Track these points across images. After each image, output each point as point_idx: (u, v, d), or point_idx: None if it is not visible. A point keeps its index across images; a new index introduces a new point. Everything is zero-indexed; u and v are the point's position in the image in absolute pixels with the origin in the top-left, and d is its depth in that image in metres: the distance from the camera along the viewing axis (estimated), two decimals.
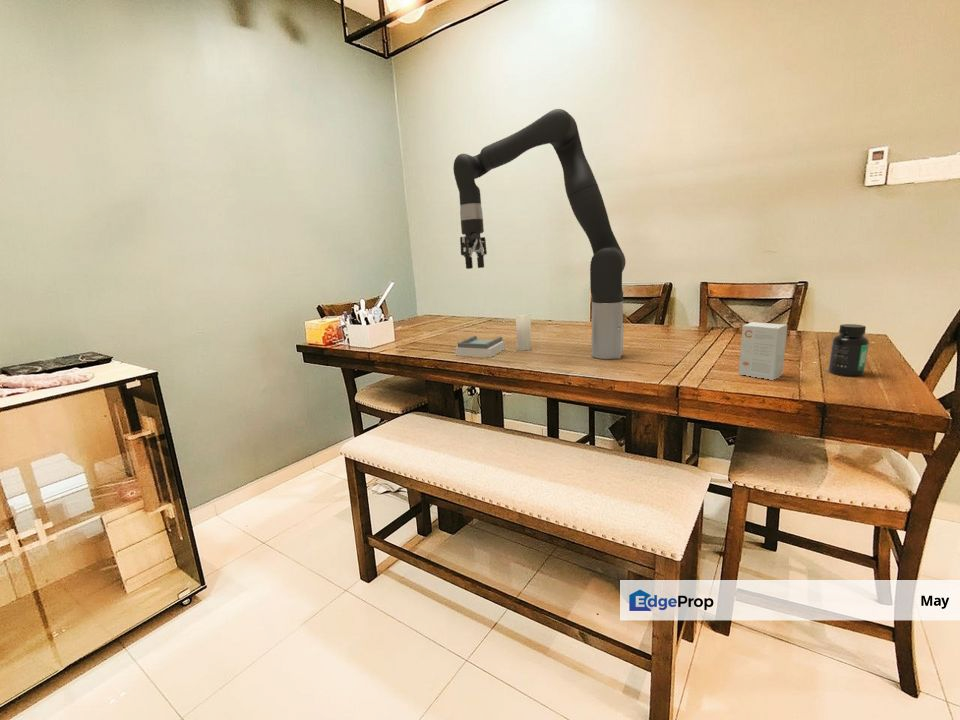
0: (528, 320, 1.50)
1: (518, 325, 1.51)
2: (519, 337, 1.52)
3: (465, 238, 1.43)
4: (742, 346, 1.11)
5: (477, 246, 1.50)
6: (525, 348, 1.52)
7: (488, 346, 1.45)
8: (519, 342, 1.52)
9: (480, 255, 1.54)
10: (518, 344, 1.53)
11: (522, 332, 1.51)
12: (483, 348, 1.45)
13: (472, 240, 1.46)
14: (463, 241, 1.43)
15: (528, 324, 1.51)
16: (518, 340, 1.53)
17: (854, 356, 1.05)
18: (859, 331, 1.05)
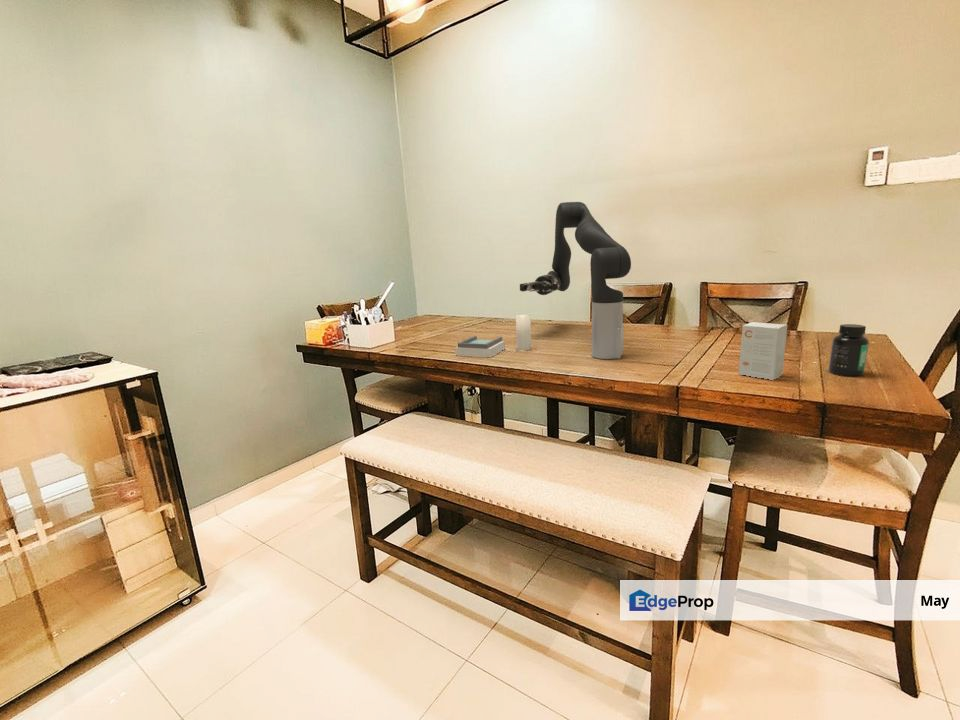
0: (528, 320, 1.50)
1: (518, 325, 1.51)
2: (519, 337, 1.52)
3: None
4: (742, 346, 1.11)
5: (540, 283, 1.66)
6: (525, 348, 1.52)
7: (488, 346, 1.45)
8: (519, 342, 1.52)
9: None
10: (518, 344, 1.53)
11: (522, 332, 1.51)
12: (483, 348, 1.45)
13: None
14: None
15: (528, 324, 1.51)
16: (518, 340, 1.53)
17: (854, 356, 1.05)
18: (859, 331, 1.05)
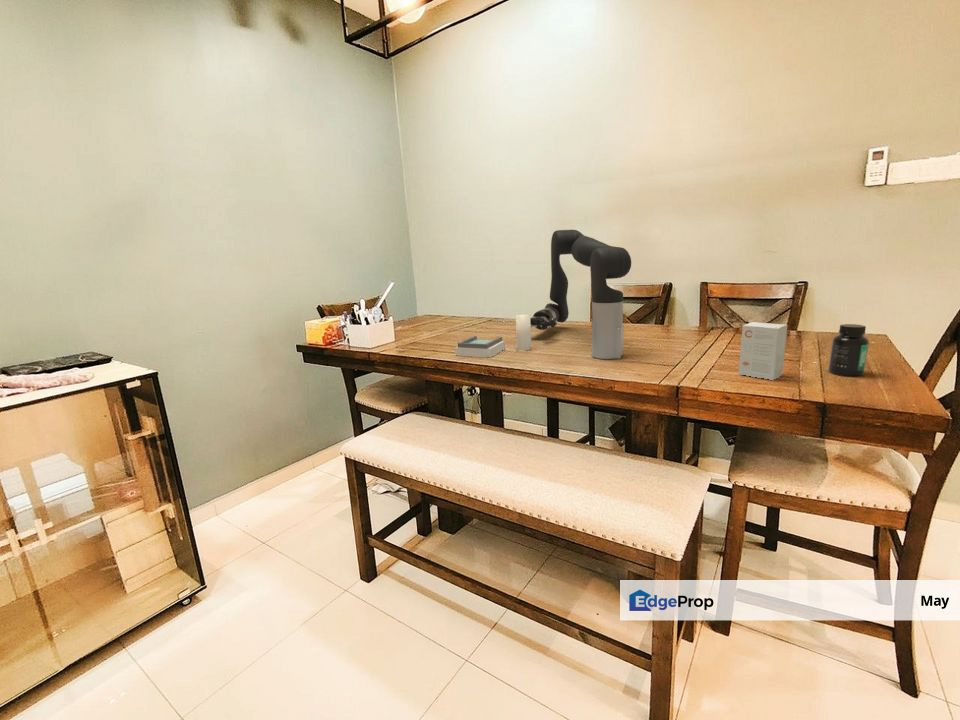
0: (528, 320, 1.50)
1: (518, 325, 1.51)
2: (519, 337, 1.52)
3: None
4: (742, 346, 1.11)
5: (538, 319, 1.66)
6: (525, 348, 1.52)
7: (488, 346, 1.45)
8: (519, 342, 1.52)
9: None
10: (518, 344, 1.53)
11: (522, 332, 1.51)
12: (483, 348, 1.45)
13: None
14: None
15: (528, 324, 1.51)
16: (518, 340, 1.53)
17: (854, 356, 1.05)
18: (859, 331, 1.05)
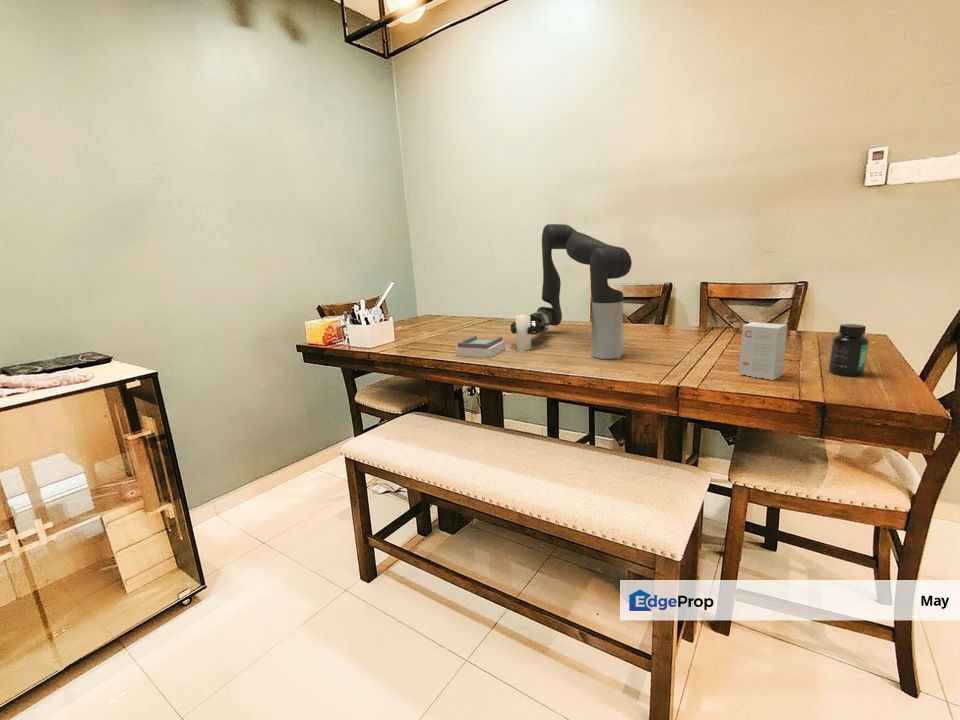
0: (528, 320, 1.50)
1: (518, 325, 1.51)
2: (519, 337, 1.52)
3: (512, 323, 1.61)
4: (742, 346, 1.11)
5: None
6: (525, 348, 1.52)
7: (488, 346, 1.45)
8: (519, 342, 1.52)
9: None
10: (518, 344, 1.53)
11: (522, 332, 1.51)
12: (483, 348, 1.45)
13: None
14: None
15: (528, 324, 1.51)
16: (518, 340, 1.53)
17: (854, 356, 1.05)
18: (859, 331, 1.05)
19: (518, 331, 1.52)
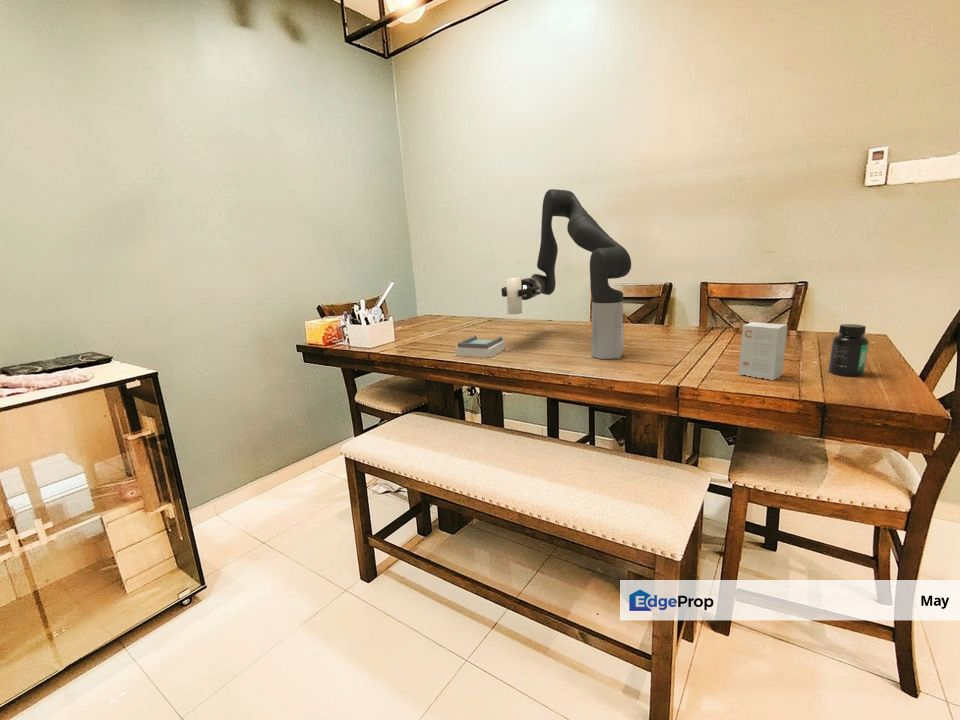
0: (519, 282, 1.47)
1: (508, 288, 1.48)
2: (510, 300, 1.49)
3: None
4: (742, 346, 1.11)
5: None
6: (516, 311, 1.49)
7: (488, 346, 1.45)
8: (510, 305, 1.49)
9: None
10: (509, 308, 1.50)
11: (512, 295, 1.48)
12: (483, 348, 1.45)
13: None
14: None
15: (519, 286, 1.48)
16: (508, 303, 1.50)
17: (854, 356, 1.05)
18: (859, 331, 1.05)
19: (509, 294, 1.49)
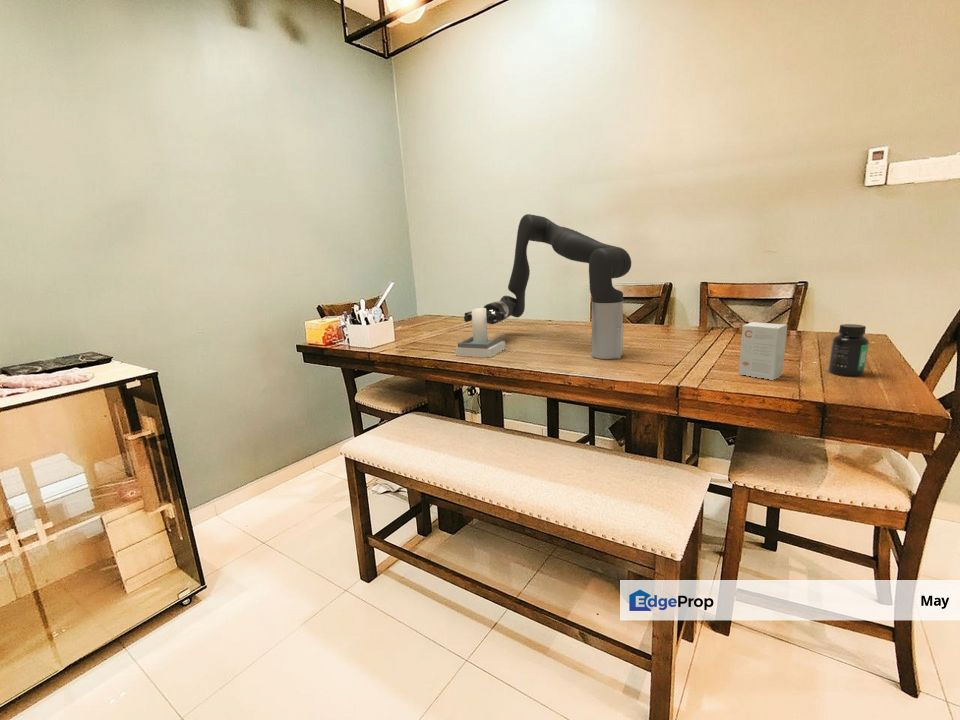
0: (483, 313, 1.48)
1: (473, 318, 1.49)
2: (475, 330, 1.50)
3: None
4: (742, 346, 1.11)
5: (486, 312, 1.54)
6: (481, 342, 1.50)
7: (488, 346, 1.45)
8: (475, 335, 1.50)
9: None
10: (474, 338, 1.51)
11: (477, 326, 1.49)
12: (483, 348, 1.45)
13: None
14: None
15: (484, 317, 1.49)
16: (474, 334, 1.50)
17: (854, 356, 1.05)
18: (859, 331, 1.05)
19: (474, 325, 1.50)
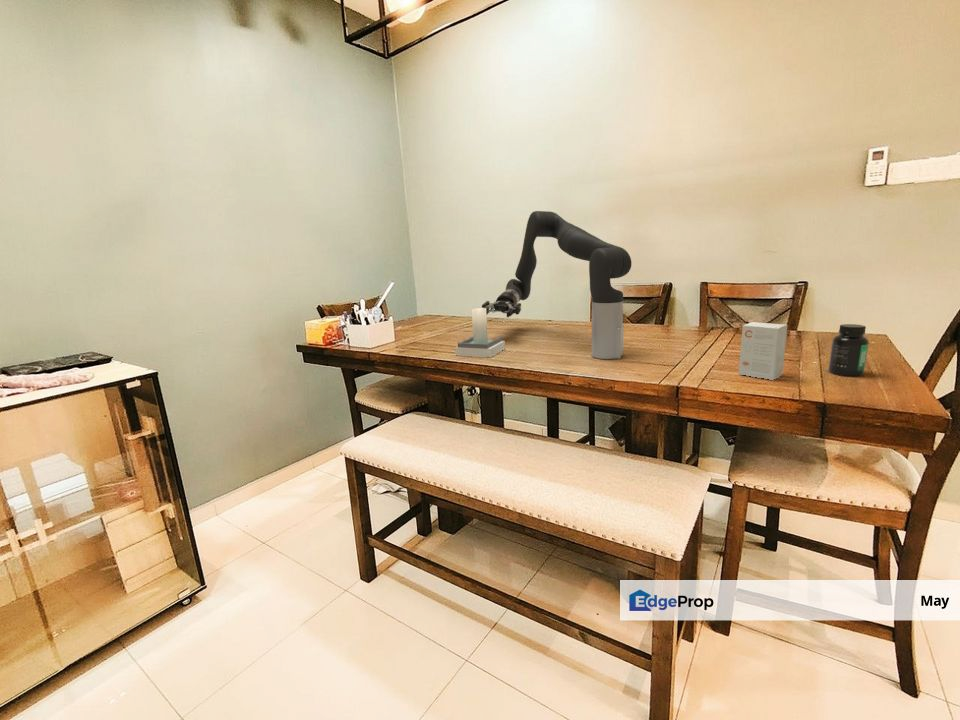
0: (484, 314, 1.48)
1: (474, 319, 1.49)
2: (475, 330, 1.49)
3: None
4: (742, 346, 1.11)
5: (503, 305, 1.65)
6: (481, 342, 1.50)
7: (488, 346, 1.45)
8: (475, 336, 1.50)
9: None
10: (474, 338, 1.51)
11: (477, 326, 1.49)
12: (483, 348, 1.45)
13: None
14: None
15: (484, 318, 1.49)
16: (474, 334, 1.50)
17: (854, 356, 1.05)
18: (859, 331, 1.05)
19: (474, 325, 1.49)
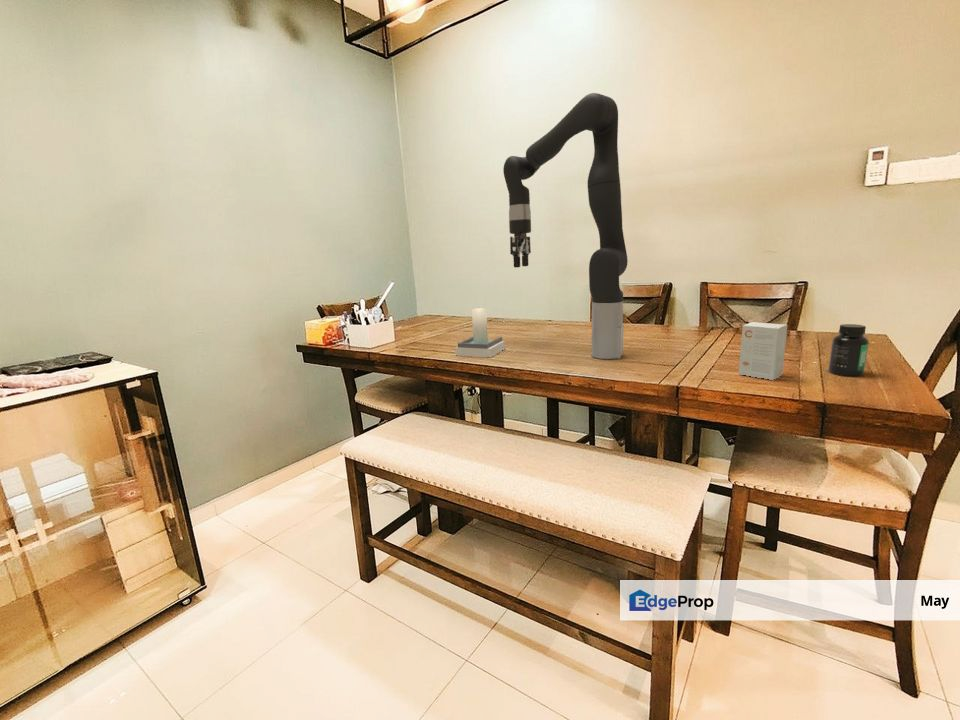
0: (484, 313, 1.48)
1: (474, 318, 1.49)
2: (475, 330, 1.50)
3: (515, 238, 1.48)
4: (742, 346, 1.11)
5: (524, 245, 1.55)
6: (481, 342, 1.50)
7: (488, 346, 1.45)
8: (475, 335, 1.50)
9: (525, 254, 1.59)
10: (474, 338, 1.51)
11: (477, 326, 1.49)
12: (483, 348, 1.45)
13: (520, 240, 1.51)
14: (513, 241, 1.48)
15: (484, 317, 1.49)
16: (474, 334, 1.50)
17: (854, 356, 1.05)
18: (859, 331, 1.05)
19: (474, 325, 1.49)
